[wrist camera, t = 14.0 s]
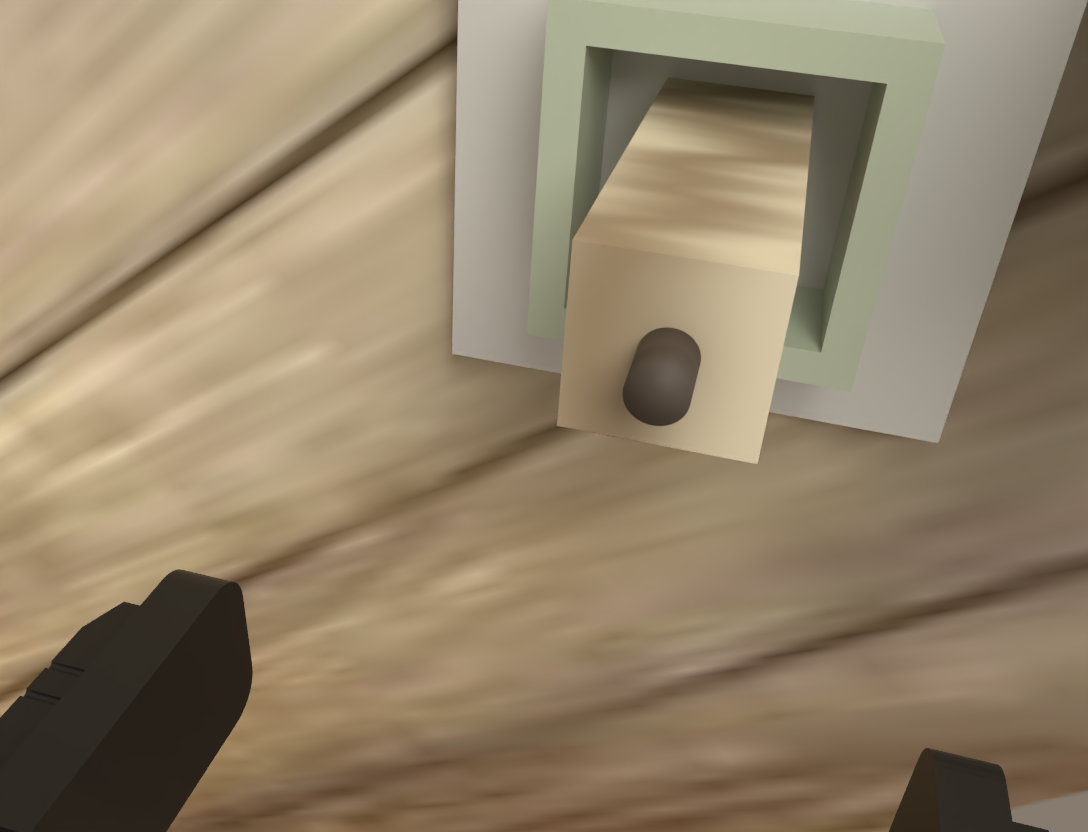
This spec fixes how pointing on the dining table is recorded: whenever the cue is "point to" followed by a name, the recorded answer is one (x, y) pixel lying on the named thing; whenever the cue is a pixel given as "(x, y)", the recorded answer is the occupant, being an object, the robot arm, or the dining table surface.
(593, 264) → the beige long rectangular block
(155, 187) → the dining table surface
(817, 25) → the stand
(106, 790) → the robot arm
